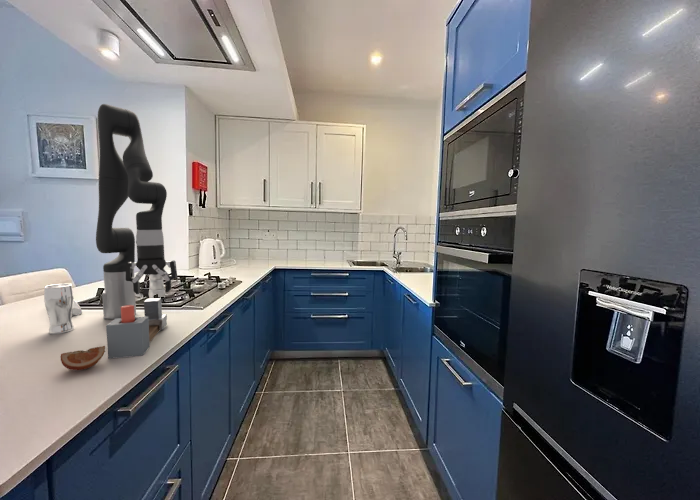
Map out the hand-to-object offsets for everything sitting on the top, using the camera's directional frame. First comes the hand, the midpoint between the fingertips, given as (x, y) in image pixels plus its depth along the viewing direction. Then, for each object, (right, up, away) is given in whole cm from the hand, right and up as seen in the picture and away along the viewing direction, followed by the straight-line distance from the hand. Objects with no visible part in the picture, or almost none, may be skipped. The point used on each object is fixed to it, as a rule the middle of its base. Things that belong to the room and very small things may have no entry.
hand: (153, 292), depth 104 cm
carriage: (0, -12, +1) cm, 13 cm away
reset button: (+4, -8, -18) cm, 20 cm away
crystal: (-48, -10, +21) cm, 53 cm away
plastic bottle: (-23, -9, +40) cm, 47 cm away
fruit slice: (0, -15, -27) cm, 31 cm away
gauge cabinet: (+4, -14, -17) cm, 23 cm away
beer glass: (-29, -12, -1) cm, 32 cm away
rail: (+1, -13, -4) cm, 14 cm away
